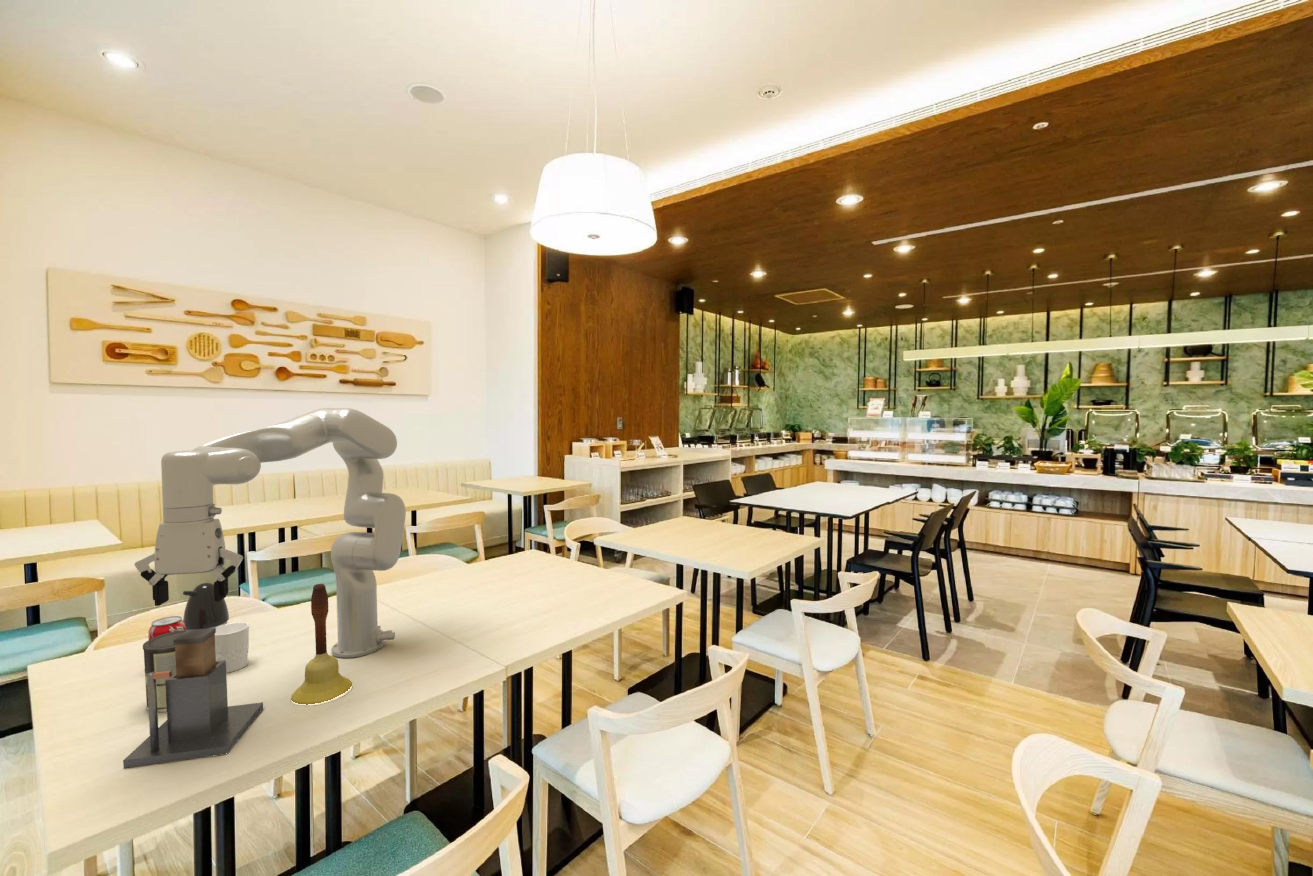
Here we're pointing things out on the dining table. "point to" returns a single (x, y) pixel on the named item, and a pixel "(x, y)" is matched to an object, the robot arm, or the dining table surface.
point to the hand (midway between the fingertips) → (191, 601)
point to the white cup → (232, 645)
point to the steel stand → (192, 719)
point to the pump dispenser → (204, 608)
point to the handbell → (321, 660)
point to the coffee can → (160, 663)
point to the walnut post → (195, 652)
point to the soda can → (166, 626)
